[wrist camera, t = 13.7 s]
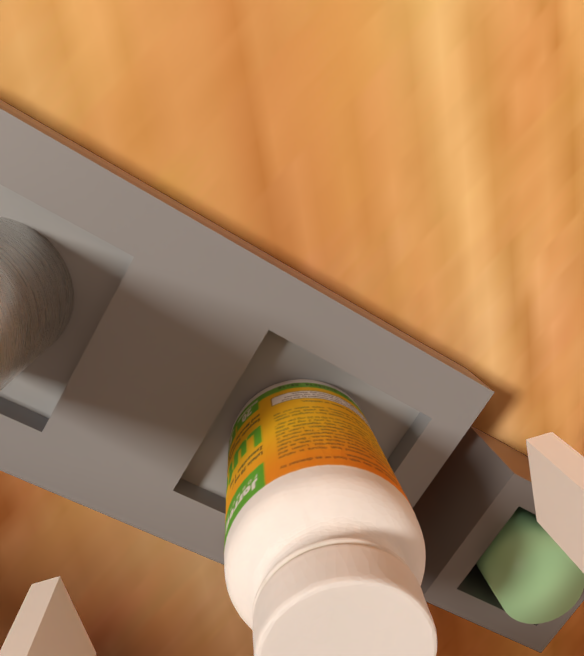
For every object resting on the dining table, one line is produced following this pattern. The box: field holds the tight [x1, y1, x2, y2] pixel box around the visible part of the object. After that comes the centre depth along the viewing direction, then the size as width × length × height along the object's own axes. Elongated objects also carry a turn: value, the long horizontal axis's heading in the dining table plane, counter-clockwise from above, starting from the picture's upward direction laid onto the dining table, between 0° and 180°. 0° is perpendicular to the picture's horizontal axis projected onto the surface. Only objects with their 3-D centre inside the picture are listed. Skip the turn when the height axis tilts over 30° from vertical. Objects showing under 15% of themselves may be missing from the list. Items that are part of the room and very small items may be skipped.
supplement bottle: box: [224, 379, 438, 656], centre depth 16 cm, size 5×5×10 cm
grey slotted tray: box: [0, 100, 494, 565], centre depth 20 cm, size 22×11×2 cm, turn 59°
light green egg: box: [476, 506, 584, 624], centre depth 21 cm, size 3×3×4 cm
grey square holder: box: [412, 426, 584, 653], centre depth 22 cm, size 6×6×4 cm
